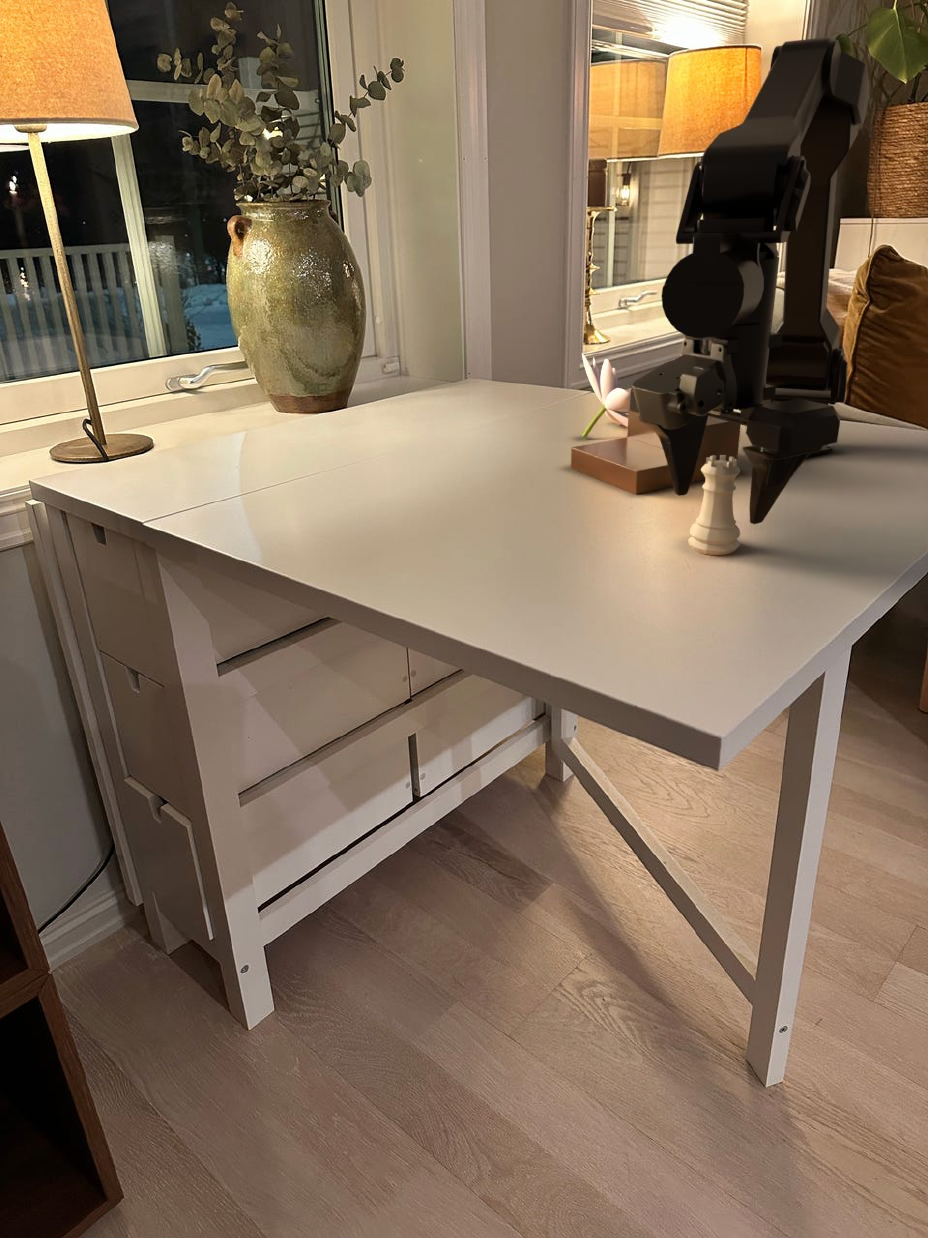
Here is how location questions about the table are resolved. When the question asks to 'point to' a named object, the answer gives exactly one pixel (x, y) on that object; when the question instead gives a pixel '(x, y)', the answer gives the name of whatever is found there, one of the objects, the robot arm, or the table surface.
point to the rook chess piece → (717, 509)
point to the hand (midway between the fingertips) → (717, 508)
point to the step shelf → (649, 455)
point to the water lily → (608, 394)
